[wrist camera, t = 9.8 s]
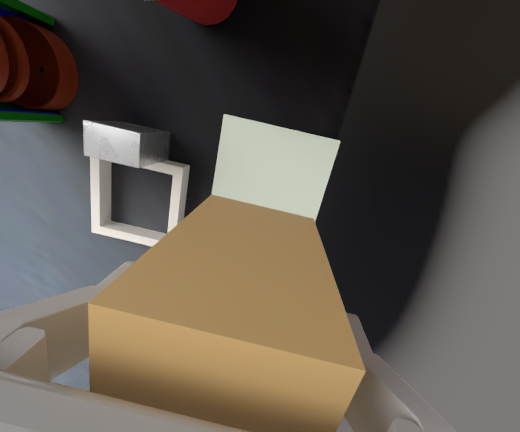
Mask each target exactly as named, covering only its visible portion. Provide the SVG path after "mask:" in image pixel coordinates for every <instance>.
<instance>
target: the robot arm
mask: <svg viewBox="0 0 520 432" xmlns="http://www.w3.org/2000/svg"><path fill="white" fill-rule="evenodd" d="M133 263H134V262H133V261H126V262H125V263H123V264H122V265H121V266H120V267H119V268H117V269H116V270H115V271H114V272H112V273H111V274H110V275H109V276H108V277H106V278H105V279H104V280H103V281H101V282H100V283H99V284H98V285H97V286H92V285H90V286H87V287H83V288H80V289H76V290H73V291H70V292H66V293H63V294H59V295H56V296H53V297H49V298H46V299H42V300H39V301H35V302H32V303H29V304H25V305H22V306H18V307H15V308H11V309H8V310H5V311H1V312H0V432H249V431H245V430H241V429H237V428H233V427H229V426H225V425H221V424H217V423H213V422H209V421H205V420H201V419H197V418H193V417H189V416H185V415H181V414H177V413H173V412H169V411H165V410H161V409H157V408H153V407H149V406H145V405H141V404H137V403H133V402H129V401H125V400H121V399H117V398H113V397H109V396H105V395H101V394H97V393H93V392H89V391H85V390H81V389H77V388H73V387H69V386H65V385H61V384H57V383H53V382H50V380H51V379H53V378H55V377H56V376H58V375H60V374H61V373H63V372H65V371H66V370H68V369H70V368H71V367H73V366H75V365H76V364H78V363H80V362H81V361H83V360H85V359H86V358H88V357H89V324H88V303H89V302H90V301H91V300H92V299H93V298H95V297H96V296H97V295H98V294H99V293H100V292H101V291H103V290H104V289H105V288H106V287H107V286H108V285H109V284H110V283H112V282H113V281H114V280H115V279H116V278H117V277H118V276H120V275H121V274H122V273H123V272H124V271H125V270H126V269H128V268H129V267H130V266H131V265H132V264H133ZM346 314H347V317H348V320H349V323H350V326H351V329H352V332H353V335H354V338H355V341H356V344H357V346H358V349H359V352H360V355H361V358H362V361H363V364H364V367H365V370H366V372H365V374H364V376H363V378H362V380H361V382H360V384H359V386H358V388H357V390H356V392H355V394H354V396H353V398H352V400H351V402H350V404H349V406H348V408H347V410H346V412H345V414H344V417H345V418H346V420H347V422H348V423H349V425H350V427H351V428H352V430H353V432H456V430H455V429H454V428H453V427H452V426H451V425H450V424H449V423H447V422H446V421H445V420H444V419H443V418H442V417H441V416H440V415H439V414H438V413H437V412H436V411H435V410H434V409H433V408H432V407H431V406H430V405H429V404H428V403H427V402H426V401H425V400H424V399H422V397H421V396H420V395H418V394H417V393H416V392H415V391H414V390H413V389H412V388H411V387H410V386H409V385H408V384H407V383H406V382H405V381H404V380H403V379H402V378H401V377H400V376H399V375H398V374H397V373H396V372H395V371H394V370H393V369H392V368H391V367H390V366H389V365H387V364H386V363H385V362H384V361H383V360H382V359H381V358H380V357H379V356H378V355H375V354H373V353H372V350H371V348H370V346H369V343H368V340H367V338H366V335H365V333H364V331H363V328H362V326H361V323H360V321H359V319H358V317H357V316H356V315H353V314H349V313H346Z"/></svg>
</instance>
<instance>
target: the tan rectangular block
mask: <svg viewBox="0 0 520 432" xmlns="http://www.w3.org/2000/svg"><path fill="white" fill-rule="evenodd" d="M88 324H89V371H90V392H93V393H97V394H101V395H105V396H109V397H113V398H117V399H121V400H125V401H129V402H133V403H137V404H141V405H145V406H149V407H153V408H157V409H161V410H165V411H169V412H173V413H177V414H181V415H185V416H189V417H193V418H197V419H201V420H205V421H209V422H213V423H217V424H221V425H225V426H229V427H233V428H237V429H241V430H245V431H249V432H336V429H337V428H338V426H339V424H340V422H341V420H342V418H343V416H344V414H345V412H346V410H347V408H348V406H349V404H350V402H351V400H352V398H353V396H354V394H355V392H356V390H357V388H358V386H359V384H360V382H361V380H362V378H363V376H364V374H365V372H366V370H365V367H364V364H363V361H362V358H361V355H360V352H359V349H358V346H357V344H356V341H355V338H354V335H353V332H352V329H351V326H350V323H349V320H348V317H347V314H346V312H345V309H344V306H343V303H342V300H341V297H340V294H339V291H338V288H337V286H336V282H335V280H334V277H333V274H332V271H331V268H330V265H329V262H328V259H327V256H326V254H325V251H324V248H323V245H322V242H321V239H320V236H319V233H318V230H317V227H316V224H315V221H314V219H313V218H309V217H305V216H301V215H297V214H292V213H288V212H284V211H280V210H275V209H271V208H267V207H263V206H258V205H254V204H250V203H246V202H242V201H237V200H233V199H229V198H225V197H220V196H216V195H210V196H209V197H208V198H207V199H206V200H205V201H204V202H202V203H201V204H200V205H199V206H198V207H197V208H196V209H195V210H193V211H192V212H191V213H190V214H189V215H188V216H187V217H185V218H184V219H183V220H182V221H181V222H180V223H179V224H178V225H176V226H175V227H174V228H173V229H172V230H171V231H170V232H168V233H167V234H166V235H165V236H164V237H163V238H162V239H160V240H159V241H158V242H157V243H156V244H155V245H154V246H153V247H151V248H150V249H149V250H148V251H147V252H146V253H145V254H143V255H142V256H141V257H140V258H139V259H138V260H137V261H135V262H134V263H133V264H132V265H131V266H130V267H129V268H128V269H126V270H125V271H124V272H123V273H122V274H121V275H120V276H118V277H117V278H116V279H115V280H114V281H113V282H112V283H110V284H109V285H108V286H107V287H106V288H105V289H104V290H103V291H101V292H100V293H99V294H98V295H97V296H96V297H95V298H93V299H92V300H91V301H90V302H89V303H88Z"/></svg>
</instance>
